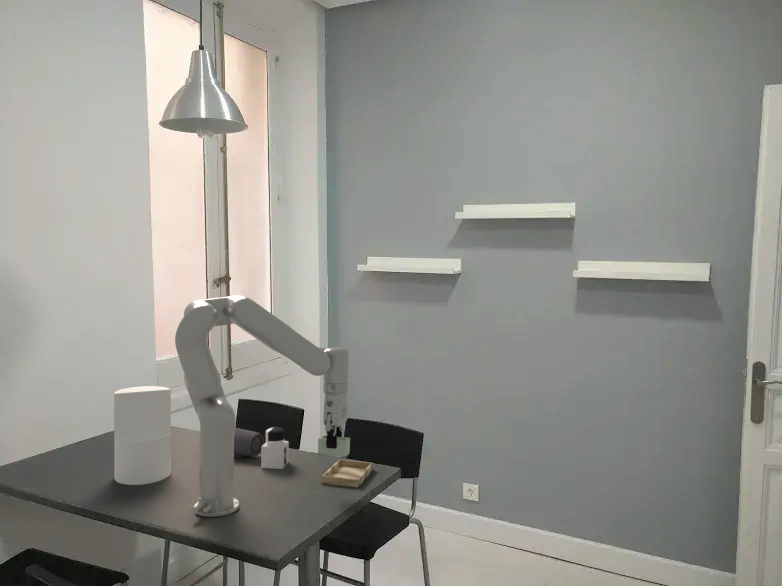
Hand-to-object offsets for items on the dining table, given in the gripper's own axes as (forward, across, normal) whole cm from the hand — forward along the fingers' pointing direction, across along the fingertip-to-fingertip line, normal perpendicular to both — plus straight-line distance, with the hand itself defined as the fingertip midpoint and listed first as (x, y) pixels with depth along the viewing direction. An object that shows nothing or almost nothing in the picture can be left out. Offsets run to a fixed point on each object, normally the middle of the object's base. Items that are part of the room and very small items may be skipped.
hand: (334, 445), depth 189 cm
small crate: (+3, 0, 0) cm, 3 cm away
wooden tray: (+15, +14, 0) cm, 20 cm away
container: (+15, +17, +28) cm, 36 cm away
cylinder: (+16, -5, +65) cm, 67 cm away
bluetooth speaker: (+15, +23, +48) cm, 55 cm away
